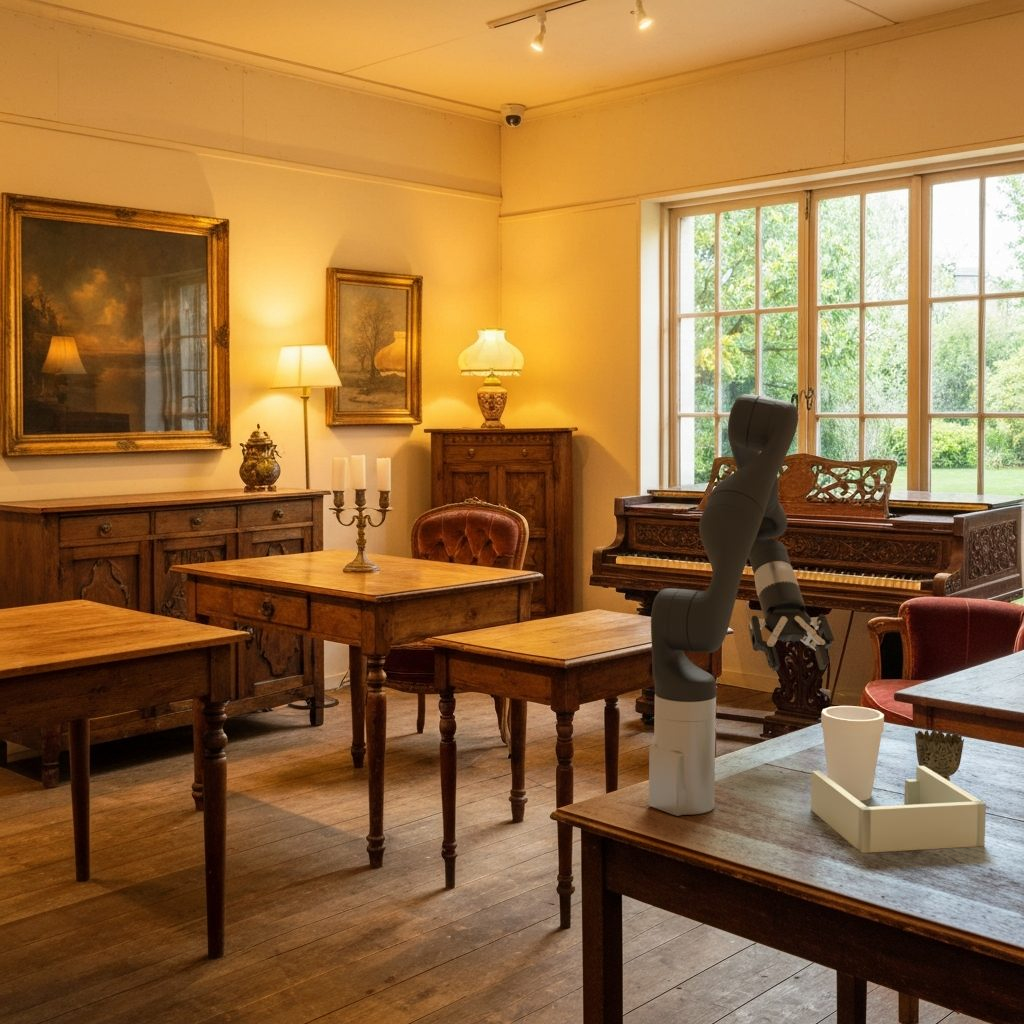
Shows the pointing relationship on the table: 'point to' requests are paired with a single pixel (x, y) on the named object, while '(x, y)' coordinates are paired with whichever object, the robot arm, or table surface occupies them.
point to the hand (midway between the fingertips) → (800, 667)
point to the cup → (939, 752)
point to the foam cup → (852, 747)
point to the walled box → (903, 815)
